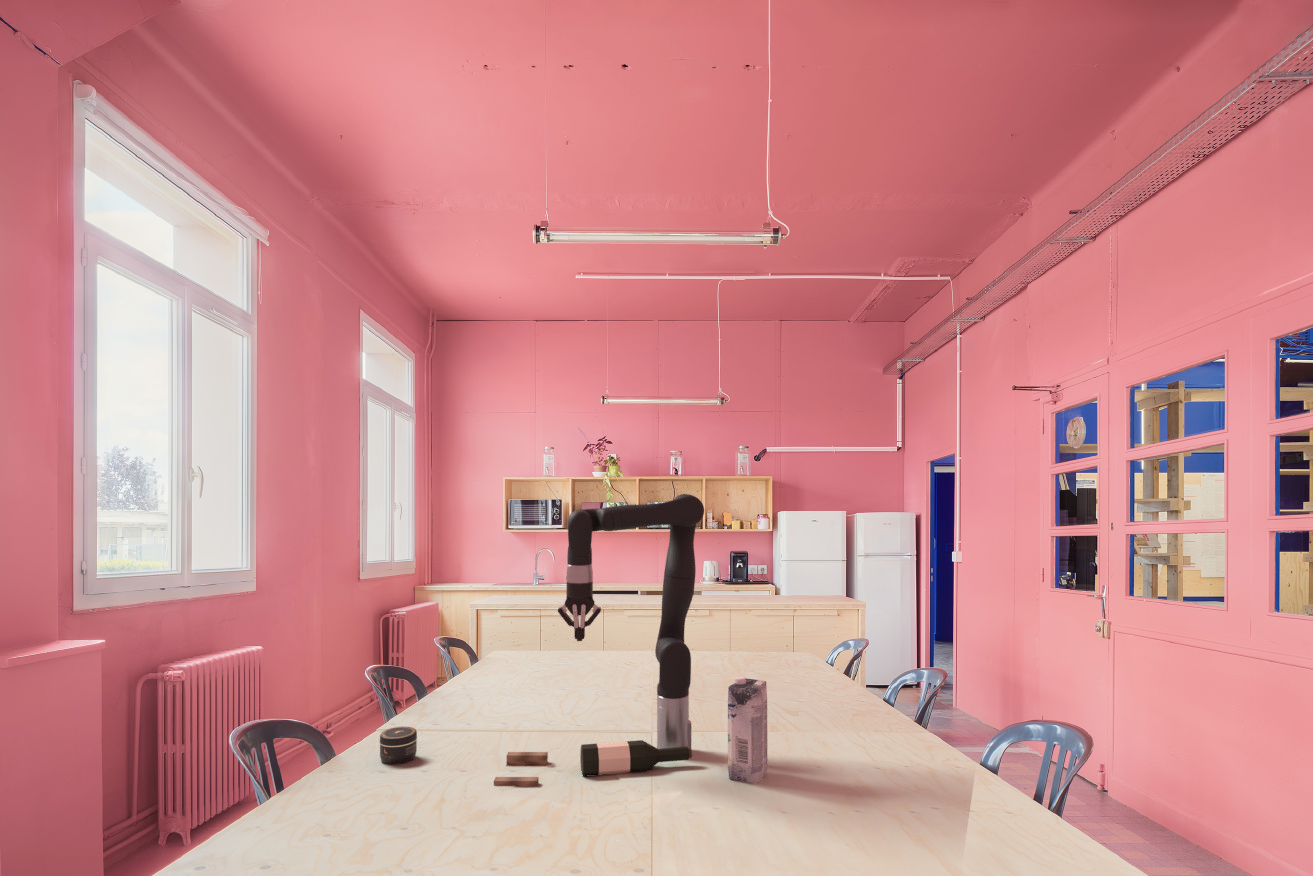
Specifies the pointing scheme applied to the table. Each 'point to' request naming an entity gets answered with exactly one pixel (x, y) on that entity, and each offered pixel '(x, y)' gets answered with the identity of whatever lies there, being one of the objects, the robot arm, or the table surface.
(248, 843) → the table surface
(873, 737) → the table surface
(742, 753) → the juice carton
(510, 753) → the u rest
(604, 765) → the wine bottle
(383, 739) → the jar
